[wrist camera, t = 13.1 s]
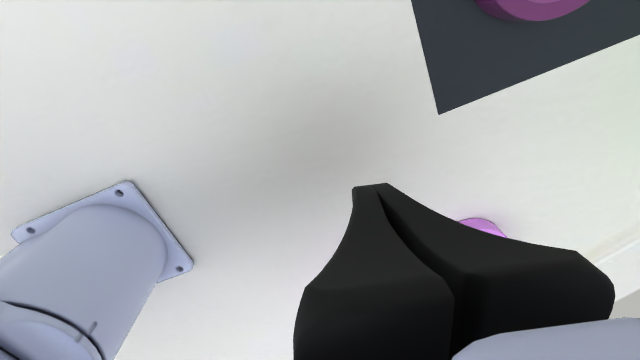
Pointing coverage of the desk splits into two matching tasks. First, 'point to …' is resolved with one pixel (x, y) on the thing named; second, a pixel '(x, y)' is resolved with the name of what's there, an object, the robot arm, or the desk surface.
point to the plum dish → (529, 9)
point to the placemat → (510, 44)
